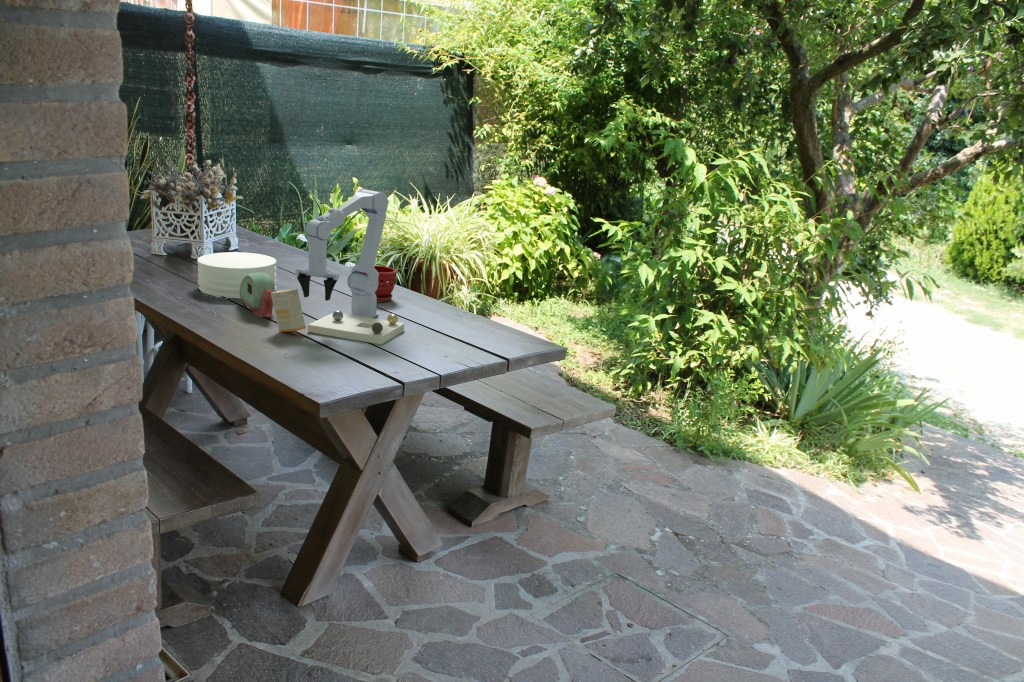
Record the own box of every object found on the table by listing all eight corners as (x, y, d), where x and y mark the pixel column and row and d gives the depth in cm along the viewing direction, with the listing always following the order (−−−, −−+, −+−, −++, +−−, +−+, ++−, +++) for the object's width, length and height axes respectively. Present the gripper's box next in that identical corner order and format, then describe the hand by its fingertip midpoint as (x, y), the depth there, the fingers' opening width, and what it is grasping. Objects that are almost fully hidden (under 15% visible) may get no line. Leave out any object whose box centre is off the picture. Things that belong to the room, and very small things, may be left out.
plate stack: (261, 279, 342) (261, 250, 339) (287, 296, 320) (287, 265, 317) (189, 283, 326) (188, 253, 323) (210, 301, 304) (210, 270, 301)
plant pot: (382, 305, 317) (383, 274, 314) (353, 299, 322) (354, 268, 319) (401, 299, 329) (403, 268, 325) (373, 293, 334) (374, 263, 330)
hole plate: (334, 319, 295) (334, 312, 294) (404, 330, 289) (404, 323, 288) (307, 331, 278) (307, 324, 278) (381, 344, 272) (381, 336, 271)
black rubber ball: (374, 330, 277) (374, 320, 276) (384, 332, 276) (384, 322, 275) (369, 333, 274) (370, 323, 273) (379, 335, 273) (380, 324, 272)
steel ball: (335, 318, 287) (335, 308, 286) (345, 320, 286) (345, 310, 285) (330, 321, 283) (330, 311, 282) (340, 322, 283) (340, 312, 282)
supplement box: (306, 328, 275) (298, 288, 272) (294, 331, 271) (286, 291, 268) (290, 328, 280) (281, 289, 277) (278, 332, 276) (269, 292, 273)
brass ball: (389, 322, 288) (390, 312, 287) (399, 323, 287) (399, 313, 286) (385, 324, 285) (385, 314, 284) (395, 326, 284) (395, 316, 283)
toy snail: (237, 303, 305) (237, 265, 301) (259, 301, 309) (258, 264, 305) (259, 322, 285) (259, 281, 281) (282, 320, 289) (282, 280, 285)
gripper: (290, 256, 274) (290, 297, 278) (332, 262, 271) (331, 304, 275) (301, 253, 281) (301, 293, 285) (342, 258, 277) (341, 299, 281)
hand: (317, 298), depth 280 cm, fingers open, 7 cm apart
